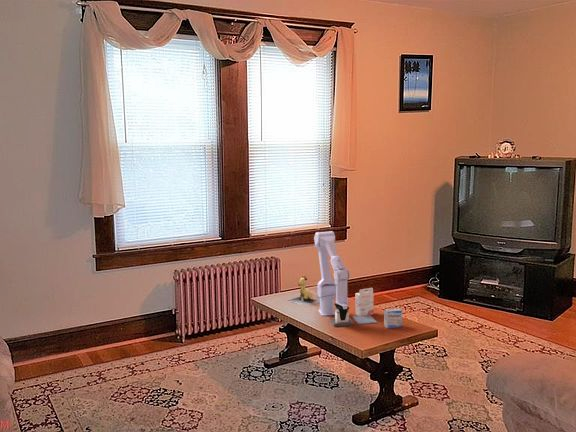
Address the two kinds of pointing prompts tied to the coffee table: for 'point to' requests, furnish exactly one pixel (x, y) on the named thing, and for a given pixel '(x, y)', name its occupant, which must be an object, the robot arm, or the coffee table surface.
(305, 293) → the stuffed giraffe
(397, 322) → the medicine box
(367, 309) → the ink cartridge box
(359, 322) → the slate board
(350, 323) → the holder
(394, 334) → the coffee table surface
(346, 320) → the plug
